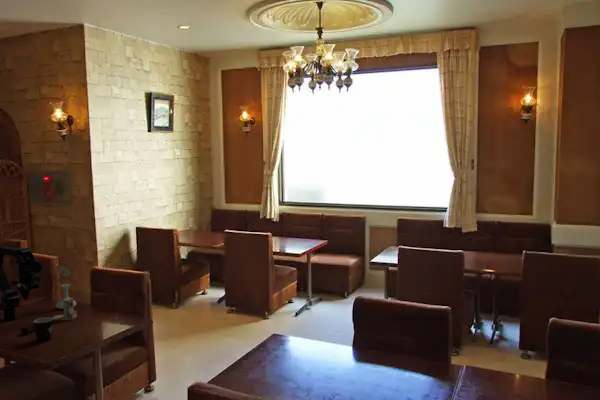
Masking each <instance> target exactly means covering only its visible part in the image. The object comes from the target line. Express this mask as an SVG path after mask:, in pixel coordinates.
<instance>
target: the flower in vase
mask: <svg viewBox="0 0 600 400" xmlns="http://www.w3.org/2000/svg"><path fill="white" fill-rule="evenodd" d="M57 272H58V274H59V275H61V276H60V277H61V279H60V278H58V279H57V282H58V283H62V284H61V285H60V287H61V289H62V290H63V297H62V298H61V299H60V300H59V301H58V302H57V303H56V305H55V307H56V308H57V309H59V310H60V309H61V310H64V308H63V300H64V299H66V298H67V297H69V288H70V286H71V284H68V283H67V282H68V280H66V281H63V277H69V276H70V275H71V271H70V269H69V268H67V267H65V266H58V268H57ZM66 283H67V284H66ZM76 306H77V302H76V301H75V300H74V299H73V308H74V307H76Z"/></svg>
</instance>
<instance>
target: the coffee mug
mask: <svg viewBox="0 0 600 400" xmlns="http://www.w3.org/2000/svg"><path fill="white" fill-rule="evenodd" d="M44 317H45V318H44ZM44 317H40V318H37V319H34V320H33V324H34V326H35V330H34V331H35V337H36V341H37V342H38V343H45V341H46V342H49V341H51V340H52V335H53V325H54V323H55V322H54V321H55V320H53V318H52V317H50V316H49V317H46V316H44ZM48 340H49V341H48Z"/></svg>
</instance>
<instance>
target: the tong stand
mask: <svg viewBox="0 0 600 400" xmlns="http://www.w3.org/2000/svg"><path fill="white" fill-rule="evenodd" d="M73 300H74V297H70V298H69V299H68V300H66V314H67V318H64V314H55V315H53V316H52V317H51V318H53V320H54V321H73V320H75V319H76V318H77V317H78V313H77V310H74V307H73ZM74 318H75V319H74Z"/></svg>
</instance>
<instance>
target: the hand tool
mask: <svg viewBox="0 0 600 400" xmlns="http://www.w3.org/2000/svg"><path fill="white" fill-rule="evenodd" d="M45 317H50V316H48V315H47V316H44V317H43V318H45ZM34 331H35V326H34V323H32V324H29V325H27V326H25V327H22V328H21V330H20V332H21V335H24V336H25V335H28V334H30V333H31V332H34Z"/></svg>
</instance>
